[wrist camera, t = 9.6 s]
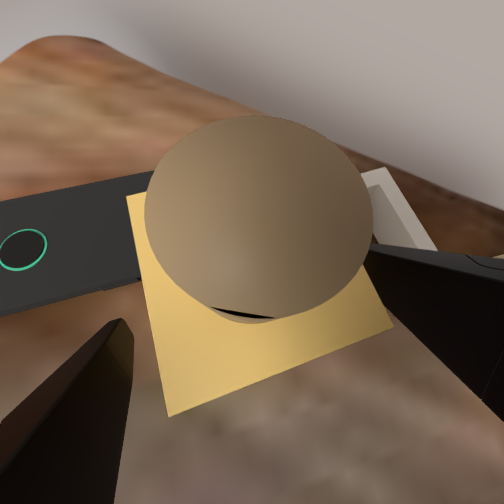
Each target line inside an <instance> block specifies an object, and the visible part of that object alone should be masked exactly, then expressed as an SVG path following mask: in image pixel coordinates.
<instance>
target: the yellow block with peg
mask: <svg viewBox="0 0 504 504" xmlns="http://www.w3.org/2000/svg"><path fill="white" fill-rule="evenodd" d="M126 199H127V204H128V209H129V214H130V219H131V225H132V230H133V235H134V240H135V245H136V251H137V256H138V261H139V266H140V271H141V277H142V282H143V287H144V292H145V298H146V303H147V308H148V313H149V318H150V324H151V329H152V334H153V339H154V344H155V350H156V355H157V360H158V365H159V371H160V376H161V381H162V386H163V391H164V397H165V402H166V407H167V412H168V417H170V416H173V415H175V414H178V413H180V412H183V411H185V410H188V409H190V408H193V407H195V406H198V405H200V404H203V403H205V402H208V401H210V400H213V399H215V398H218V397H220V396H223V395H225V394H228V393H230V392H233V391H235V390H238V389H240V388H243V387H245V386H248V385H250V384H253V383H255V382H258V381H260V380H263V379H265V378H268V377H270V376H273V375H275V374H278V373H280V372H283V371H285V370H288V369H290V368H293V367H295V366H298V365H300V364H303V363H305V362H308V361H310V360H313V359H315V358H318V357H320V356H323V355H325V354H328V353H330V352H333V351H335V350H338V349H340V348H343V347H345V346H348V345H350V344H353V343H355V342H358V341H360V340H363V339H365V338H368V337H370V336H373V335H375V334H378V333H380V332H383V331H385V330H388V329H390V328H393V327H394V325H393V323H392V321H391V319H390V317H389V315H388V313H387V311H386V309H385V308H384V306H383V304H382V302H381V300H380V298H379V296H378V294H377V292H376V290H375V288H374V286H373V284H372V282H371V280H370V278H369V276H368V274H367V272H366V270H365V268H364V266H363V262H364V260H365V258H366V255H367V253H368V250H369V247H370V243H371V239H372V232H373V209H372V204H371V199H370V195H369V193H368V190H367V187H366V184H365V182H364V180H363V178H362V176H361V174H360V173H359V171H358V170H357V168H356V167H355V165H354V164H353V162H352V161H351V160H350V159H349V158H348V156H347V155H346V154H345V153H344V152H343V151H342V150H341V149H340V148H339V147H338V146H337V145H335V144H334V143H333V142H331V141H330V140H329V139H327V138H326V137H325V136H323V135H321V134H319V133H318V132H316V131H314V130H312V129H310V128H308V127H306V126H304V125H301V124H299V123H296V122H293V121H290V120H285V119H282V118H277V117H270V116H256V115H252V116H238V117H231V118H226V119H222V120H219V121H215V122H213V123H210V124H207V125H205V126H203V127H201V128H199V129H197V130H195V131H193V132H191V133H190V134H188V135H187V136H185V137H184V138H182V139H181V140H180V141H179V142H178V143H176V144H175V145H174V146H173V147H172V148H171V149H170V150H169V151H168V152H167V153H166V155H165V156H164V157H163V158H162V160H161V161H160V163H159V164H158V166H157V167H156V169H155V171H154V173H153V175H152V177H151V180H150V183H149V186H148V189H147V191H146V192H142V193H138V194H134V195H130V196H126Z"/></svg>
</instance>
